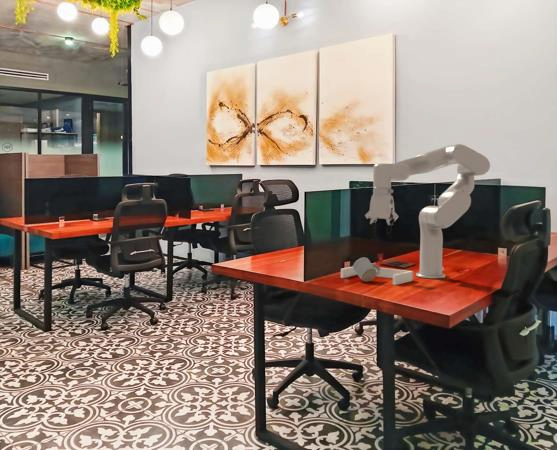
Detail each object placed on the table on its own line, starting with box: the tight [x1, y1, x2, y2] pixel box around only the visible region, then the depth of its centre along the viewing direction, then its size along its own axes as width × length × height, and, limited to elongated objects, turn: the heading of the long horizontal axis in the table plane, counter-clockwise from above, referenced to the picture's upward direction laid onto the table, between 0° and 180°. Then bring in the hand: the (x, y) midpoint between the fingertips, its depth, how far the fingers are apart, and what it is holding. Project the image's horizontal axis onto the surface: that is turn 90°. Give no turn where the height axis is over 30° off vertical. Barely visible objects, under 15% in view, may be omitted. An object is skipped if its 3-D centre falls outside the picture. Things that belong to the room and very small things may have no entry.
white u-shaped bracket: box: [340, 266, 414, 286], centre depth 219 cm, size 16×26×4 cm, turn 49°
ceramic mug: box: [352, 256, 381, 283], centre depth 213 cm, size 11×8×8 cm
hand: (381, 233), depth 221 cm, fingers open, 6 cm apart
